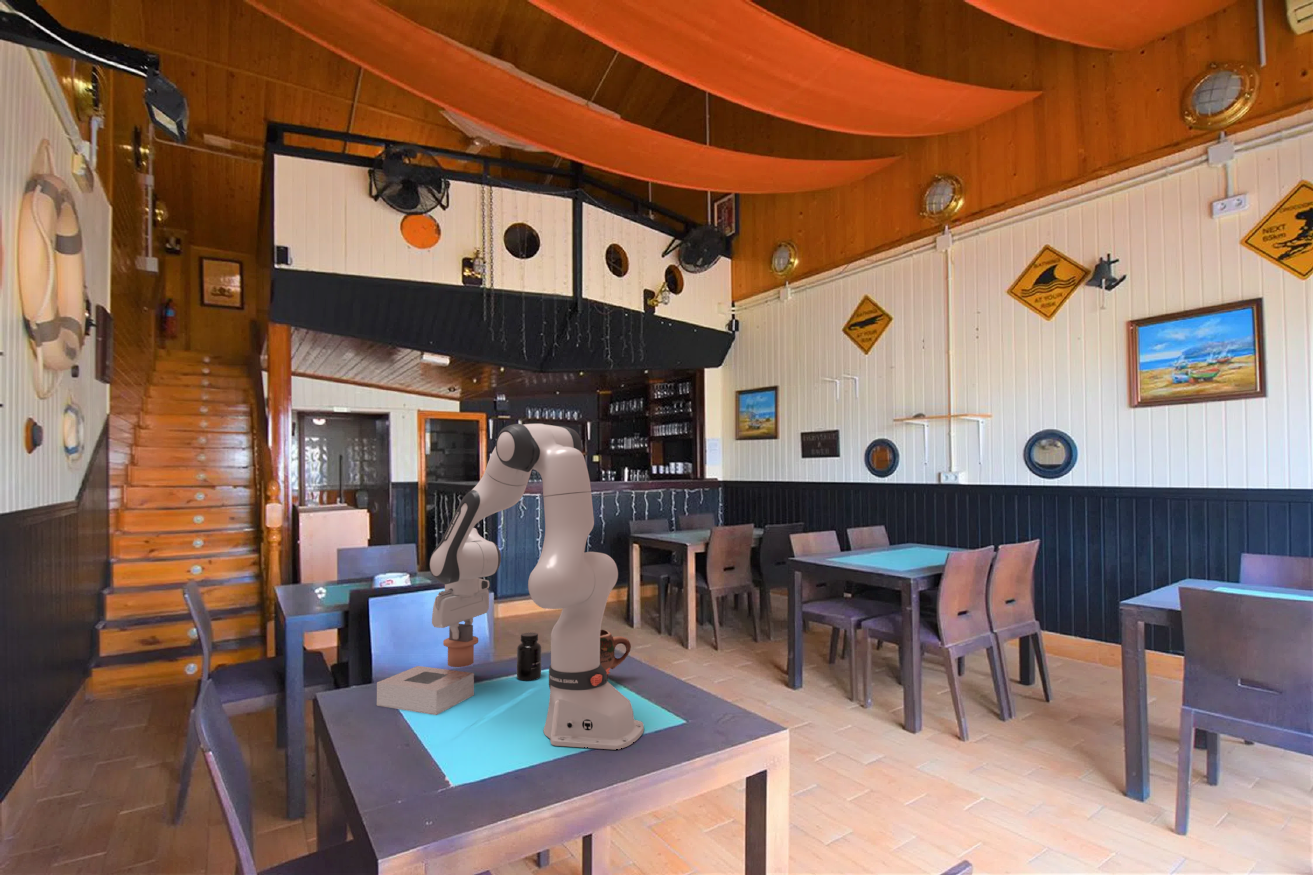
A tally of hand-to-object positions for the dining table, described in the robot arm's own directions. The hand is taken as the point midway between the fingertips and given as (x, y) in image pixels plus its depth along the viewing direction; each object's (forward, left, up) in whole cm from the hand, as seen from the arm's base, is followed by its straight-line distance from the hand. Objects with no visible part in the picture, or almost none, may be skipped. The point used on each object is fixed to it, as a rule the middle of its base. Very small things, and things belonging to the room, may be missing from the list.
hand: (461, 636), depth 176 cm
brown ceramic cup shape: (-34, -14, -13) cm, 39 cm away
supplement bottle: (-14, -12, -13) cm, 23 cm away
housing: (-2, +16, -13) cm, 21 cm away
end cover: (0, 0, -7) cm, 7 cm away
